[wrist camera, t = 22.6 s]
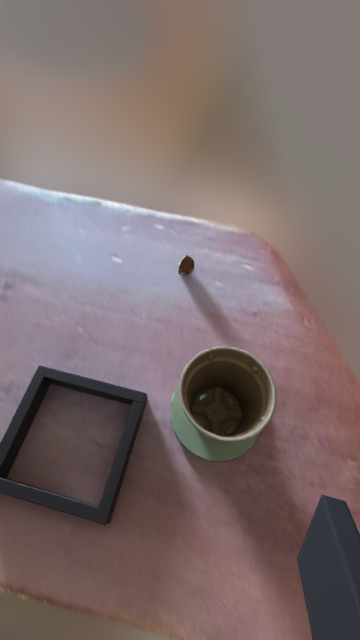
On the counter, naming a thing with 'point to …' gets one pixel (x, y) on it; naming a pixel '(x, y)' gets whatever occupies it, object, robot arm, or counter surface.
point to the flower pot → (227, 393)
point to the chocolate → (186, 265)
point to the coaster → (199, 442)
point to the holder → (6, 451)
